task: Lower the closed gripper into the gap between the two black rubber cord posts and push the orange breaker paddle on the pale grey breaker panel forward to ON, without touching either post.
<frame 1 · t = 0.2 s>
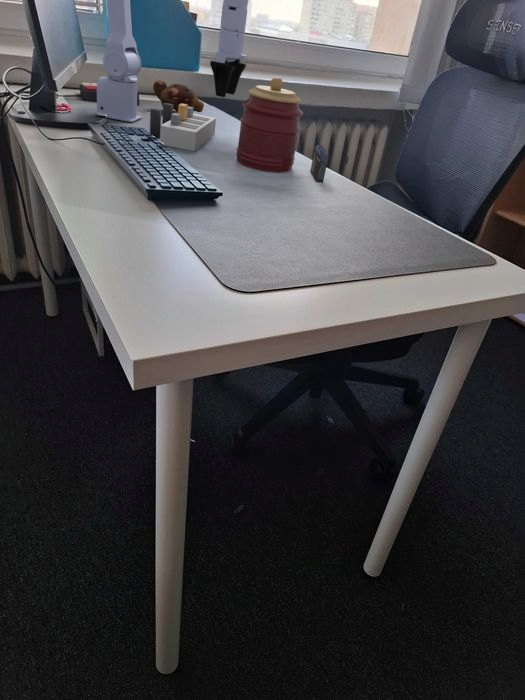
hand: (225, 95, 125), 10 cm above the table, fingers open, 7 cm apart
cord post 2: (166, 130, 128), on the table
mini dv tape: (316, 178, 113), on the table
breaker paddle: (182, 111, 121), point 6 cm above the table, slide at 0.0 cm
fitness band: (57, 112, 129), on the table
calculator: (109, 101, 151), on the table
breaker panel: (189, 138, 124), on the table
canister: (263, 165, 115), on the table
decorative turtle: (177, 114, 150), on the table
cord post 1: (154, 137, 120), on the table
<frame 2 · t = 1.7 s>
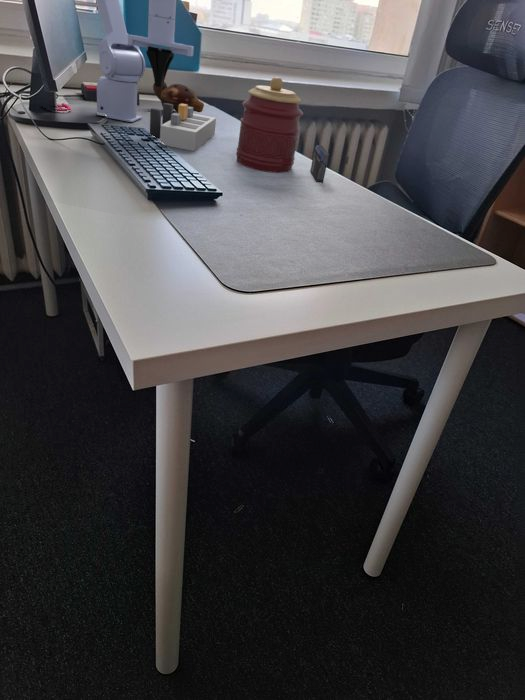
hand: (159, 86, 119), 10 cm above the table, fingers closed
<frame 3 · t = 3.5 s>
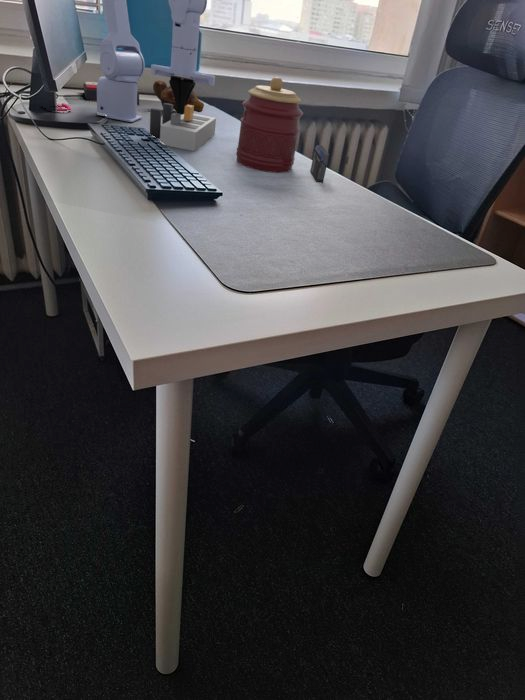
hand: (180, 113, 121), 5 cm above the table, fingers closed
breaker paddle: (188, 112, 121), point 6 cm above the table, slide at 1.5 cm, touching gripper
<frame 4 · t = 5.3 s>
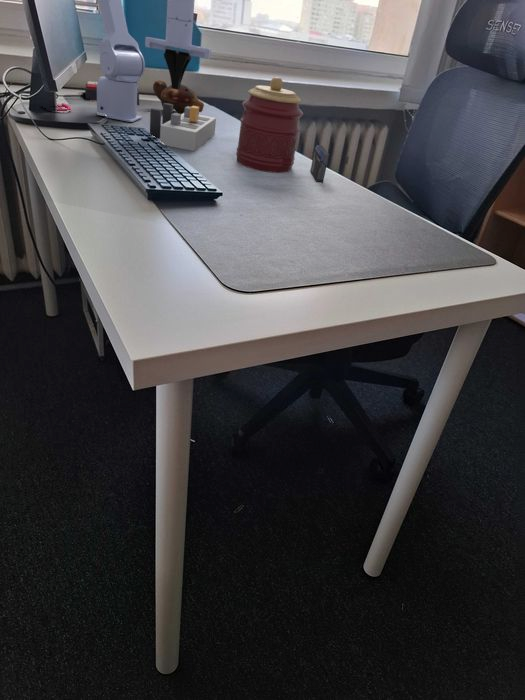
hand: (175, 88, 119), 10 cm above the table, fingers closed
breaker paddle: (194, 113, 121), point 6 cm above the table, slide at 2.8 cm
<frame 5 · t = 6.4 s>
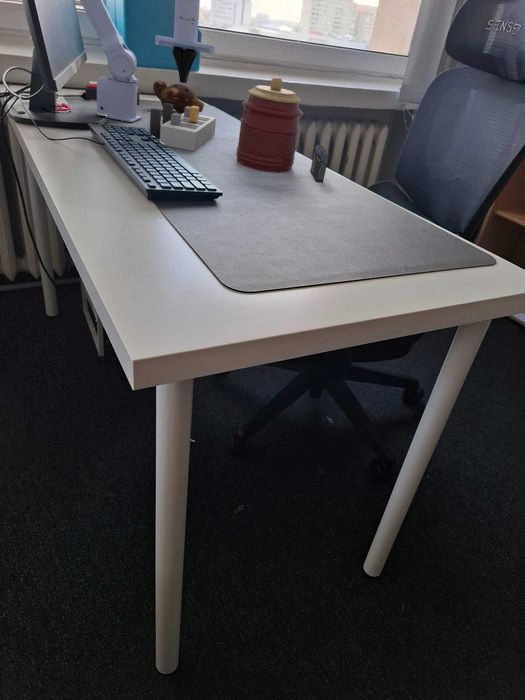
hand: (183, 82, 130), 10 cm above the table, fingers closed
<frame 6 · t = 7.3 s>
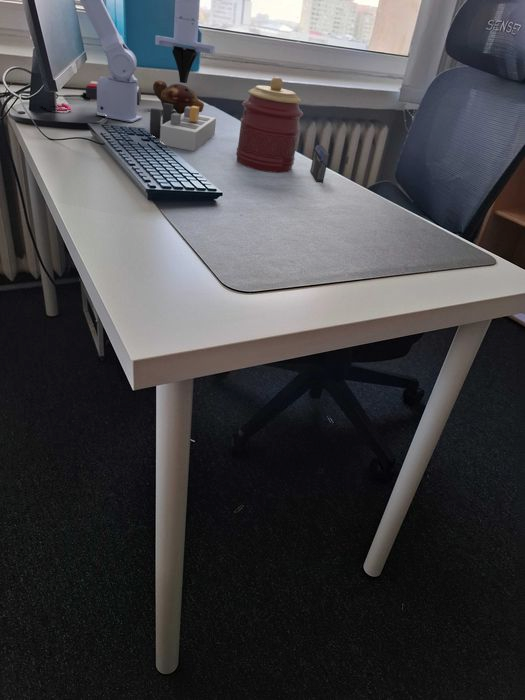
hand: (183, 82, 130), 10 cm above the table, fingers closed
at the end: breaker paddle slide at 2.8 cm; cord post 2 moved 0.0 cm from its start; cord post 1 moved 0.0 cm from its start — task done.
